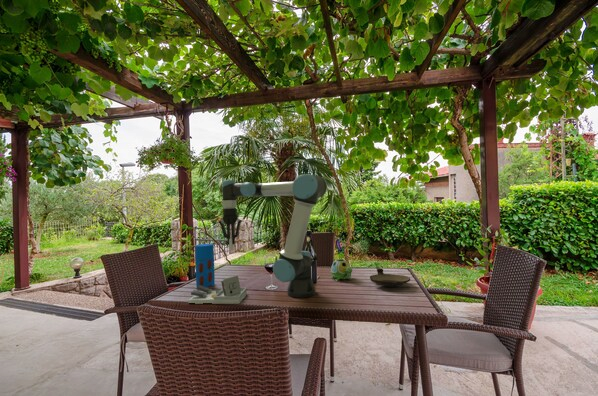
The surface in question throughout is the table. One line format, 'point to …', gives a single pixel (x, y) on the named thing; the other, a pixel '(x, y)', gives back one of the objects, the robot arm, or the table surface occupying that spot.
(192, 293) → the breaker tagged
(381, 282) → the oil lamp
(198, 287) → the breaker off
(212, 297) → the board
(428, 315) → the table surface
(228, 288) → the electrical switch
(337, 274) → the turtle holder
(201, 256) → the blue tall box
